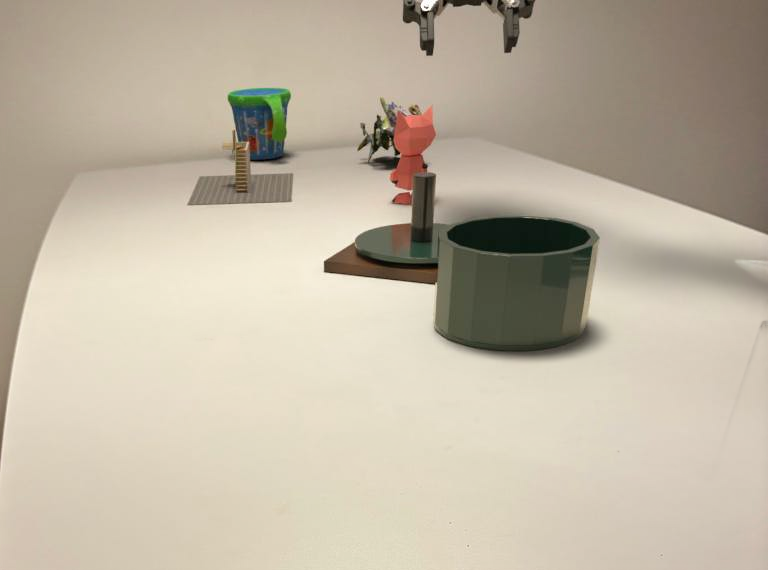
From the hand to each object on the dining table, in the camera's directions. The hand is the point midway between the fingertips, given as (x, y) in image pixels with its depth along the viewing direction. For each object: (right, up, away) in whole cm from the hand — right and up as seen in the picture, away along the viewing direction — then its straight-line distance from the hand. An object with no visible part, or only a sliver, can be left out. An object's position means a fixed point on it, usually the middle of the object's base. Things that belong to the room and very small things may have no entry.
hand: (469, 48), depth 103 cm
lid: (-4, -18, +8) cm, 20 cm away
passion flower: (-3, +15, +56) cm, 58 cm away
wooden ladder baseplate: (-27, +6, +44) cm, 52 cm away
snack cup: (-24, +21, +64) cm, 72 cm away
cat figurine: (-2, -1, +34) cm, 34 cm away
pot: (+2, -33, -9) cm, 35 cm away
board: (-4, -19, +9) cm, 22 cm away
